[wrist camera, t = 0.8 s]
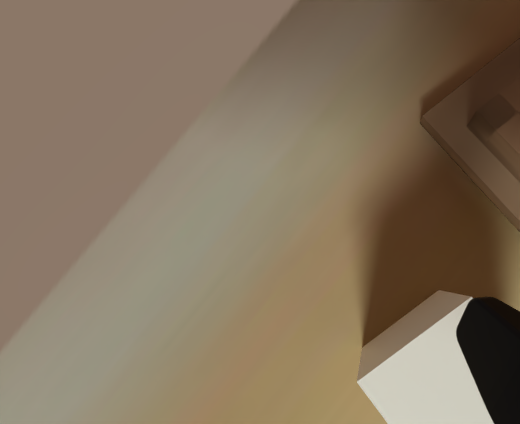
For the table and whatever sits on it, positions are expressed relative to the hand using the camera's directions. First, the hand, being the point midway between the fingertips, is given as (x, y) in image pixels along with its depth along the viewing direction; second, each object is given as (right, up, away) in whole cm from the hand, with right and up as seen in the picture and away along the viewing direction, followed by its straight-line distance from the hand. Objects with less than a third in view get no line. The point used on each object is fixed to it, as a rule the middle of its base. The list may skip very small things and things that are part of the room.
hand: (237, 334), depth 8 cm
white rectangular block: (+7, -4, +12) cm, 14 cm away
